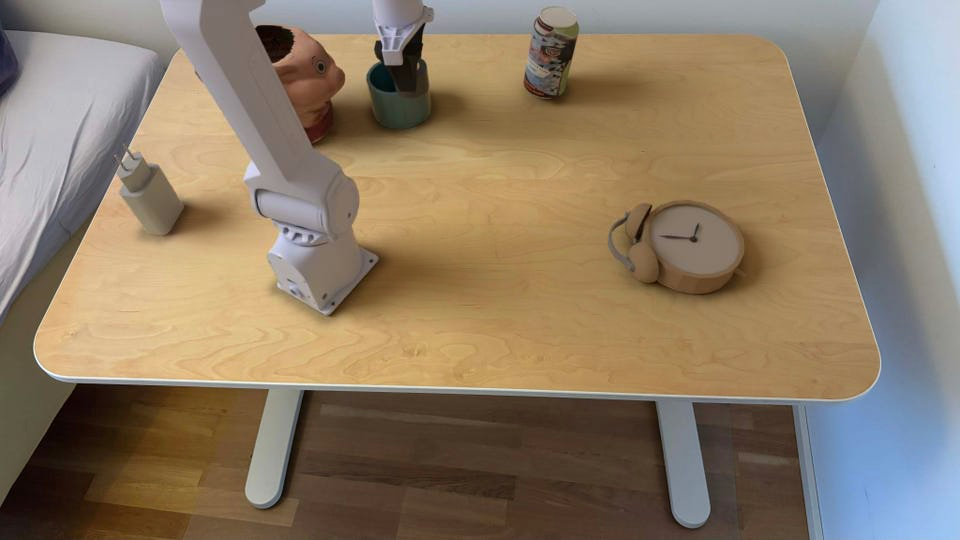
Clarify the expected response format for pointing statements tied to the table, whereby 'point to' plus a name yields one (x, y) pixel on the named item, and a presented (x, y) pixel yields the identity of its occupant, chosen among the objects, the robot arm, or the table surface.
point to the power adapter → (148, 194)
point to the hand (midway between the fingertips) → (410, 77)
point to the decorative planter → (303, 75)
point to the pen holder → (394, 101)
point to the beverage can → (551, 52)
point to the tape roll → (418, 82)
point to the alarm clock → (681, 246)
